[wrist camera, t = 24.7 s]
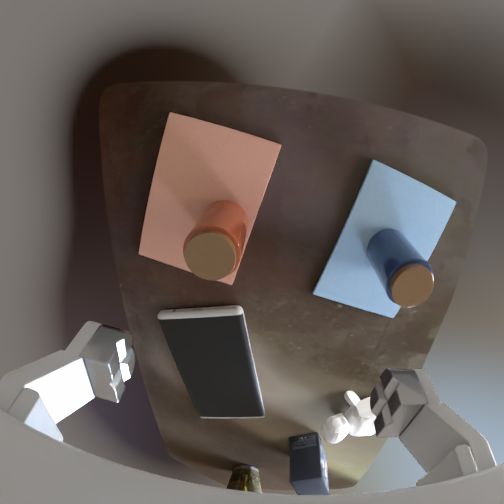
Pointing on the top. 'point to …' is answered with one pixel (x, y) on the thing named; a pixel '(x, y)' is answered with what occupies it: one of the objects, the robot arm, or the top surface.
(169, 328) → the smartphone
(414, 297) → the blue jar
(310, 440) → the small box
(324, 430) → the white sheep figurine
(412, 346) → the top surface
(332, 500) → the robot arm
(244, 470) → the ceramic cup
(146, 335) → the top surface
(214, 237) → the terracotta jar
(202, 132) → the clay mat
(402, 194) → the blue mat
